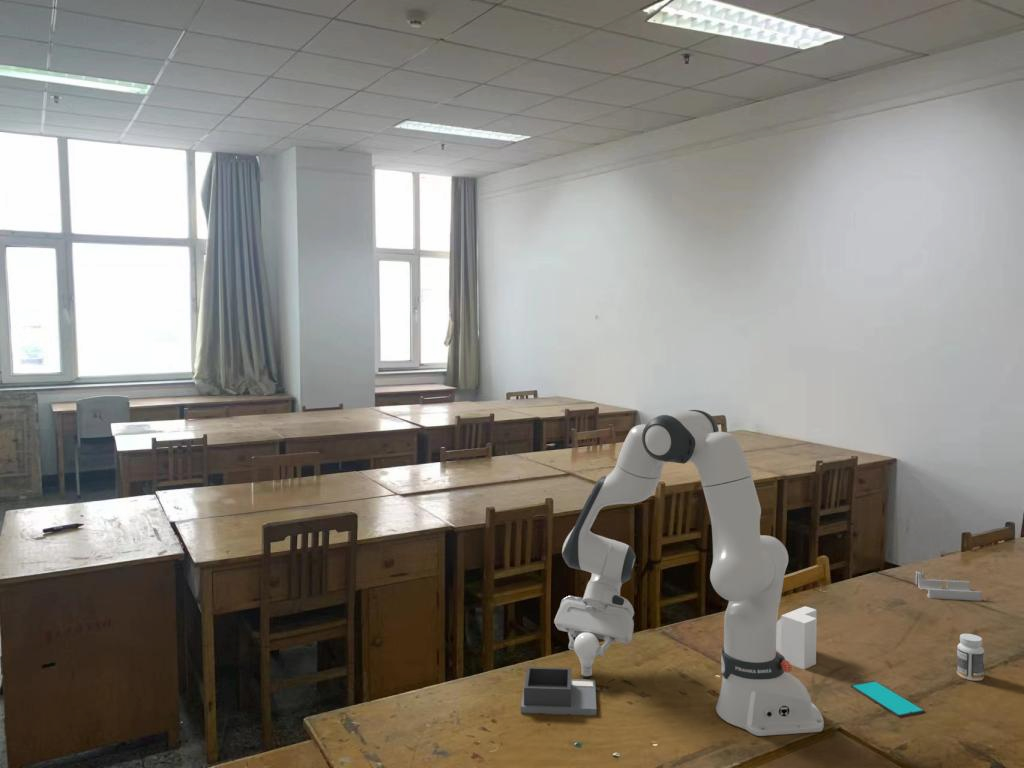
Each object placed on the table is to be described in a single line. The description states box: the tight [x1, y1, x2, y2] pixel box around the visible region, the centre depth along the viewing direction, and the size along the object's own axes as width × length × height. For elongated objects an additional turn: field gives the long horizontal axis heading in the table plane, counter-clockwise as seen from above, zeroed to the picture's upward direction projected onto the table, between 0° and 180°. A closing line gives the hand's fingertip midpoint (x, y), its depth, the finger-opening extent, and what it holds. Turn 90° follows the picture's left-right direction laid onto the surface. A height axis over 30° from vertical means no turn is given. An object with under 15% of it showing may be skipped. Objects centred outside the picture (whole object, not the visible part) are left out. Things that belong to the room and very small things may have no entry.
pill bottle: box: [956, 633, 985, 682], centre depth 182 cm, size 6×6×10 cm
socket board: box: [520, 666, 597, 716], centre depth 173 cm, size 17×14×6 cm
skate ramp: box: [915, 570, 983, 602], centre depth 241 cm, size 15×13×5 cm
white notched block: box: [776, 605, 818, 670], centre depth 194 cm, size 11×11×12 cm
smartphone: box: [850, 680, 925, 718], centre depth 172 cm, size 7×1×15 cm
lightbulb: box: [573, 632, 600, 678], centre depth 185 cm, size 6×6×11 cm
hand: (585, 652), depth 184 cm, fingers closed on lightbulb, 6 cm apart
